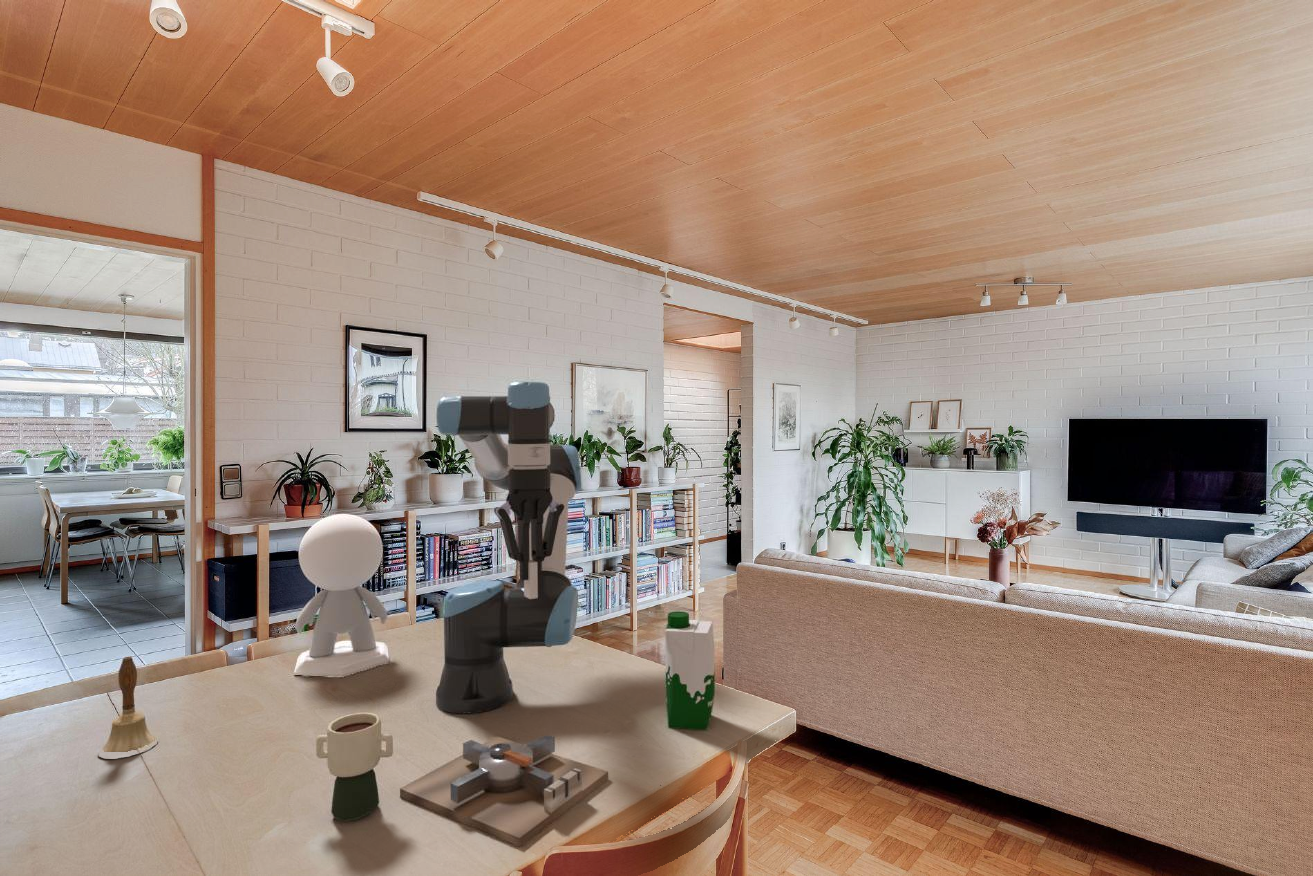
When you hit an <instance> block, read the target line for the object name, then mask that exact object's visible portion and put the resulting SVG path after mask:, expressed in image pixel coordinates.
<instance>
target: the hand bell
mask: <svg viewBox="0 0 1313 876" xmlns="http://www.w3.org/2000/svg"><path fill="white" fill-rule="evenodd" d="M117 678H118V684H119V685H118V686H119V689H120V691H121V694H122V707H121V710H122V714H121V715H120V716H117V717H116V718H115V719H114V720H113V721H112V722H111V731H110V735H109V737H108V739H107V740H106V743H105V744H104V745H103V746H104V747H103V746H102V747H103V750H104V752H128V751H131V750H137V749H138V748H142V747H144V746H145V745H149V744H150V743H152V742H153V741H155V739H156V738H157V737H156V735H153V734H152V733H151V732H150V731H149V729H148V726H147V722H146V717H145V716H146V715H144V713H141V712H138V711H136V710H135V709H136V708H135V707H136V705H135V688H136V686H137V681H138V670H137V666H136V665H135V662H134V660H133V657H132V656H126V657H125V656H124V657H123V658H122V661H121V665H120V667H119V670H118V677H117ZM155 737H156V738H155Z"/></svg>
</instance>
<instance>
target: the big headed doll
mask: <svg viewBox="0 0 1313 876" xmlns="http://www.w3.org/2000/svg"><path fill="white" fill-rule="evenodd" d="M298 548H299V549H298V563H299V566H300V568H301V571H302V573H303V575H304V576H305V577H306V579H307V580H308V581H309V582H311V584H313V585H315V586H316V587H318V588H320V589H322V590H320V591H319V592H318V593H316V594H315V595H314V596H313V597H312V598H311V599H310V600H309V601H308V602H307V603H306V604H305V606H304V607H303V608H302V610H301V611H300V613H299V614H298V616H297V618H296V621H295V622H296V623H295V630H296V632H297V633H298V634H299V635H300V634H302V633H303V630H304V629H303V627H305V626H306V625H308V626H309V627H312V626H313V624H314V620H315V617H316V615H317V613H318V615H317V617H316V618H317V619H316V621H315V625H314V629H313V632H312V637H311V641H310V645H309V646H310V647H309V649H308V650H306V651H303V652H301V653H300V654H299V655H298V657H297V660H296V663H295V668H294V671H293V676H294V675H306V676H305V677H308V676H307V675H310V676H311V675H312V676H314V675H315V676H316V675H317V676H342V678H344V677H343V676H346V675H348V674H352V673H355V672H359V673H361V672H360V671H362V670H365V669H368V668H371V667H374V668H377V667H376V666H378V665H381V666H383V665H382V664H384V665H386V664H385V663H387V664H389V663H390V656H389V647H388V646H387V644H386V643H384V642H383V641H381V642H379V641H376V639H375V635H374V630H373V627H372V624H371V619H370V617H369V614H368V613H370V615H371V618H372V619H373V620H375V619H376V617H377V618H379V619H380V621H381V624H382V625H384V624H386V623H387V621H388V612H387V609H386V607H385V606H384V604H383V603H382V601H380V599H379V598H378V597H377V596H376V595H375V594H374V593H373V592H371V591H370V590H369V589H367V588H365V587H363V586H362V585H363V584H365V583H367V582H368V581H369V580H370V579H371V578H372V577H373V576H374V575H375V573H376V572H377V571H378V569H379V567H380V565H381V562H382V559H383V551H384V547H383V541H382V538H381V536H380V534H379V531H378V530H377V529H376V527H375V526H374V525H373V524H372V523H371V522H370V521H368V520H366V519H365V518H363V517H361V516H358V515H355V514H349V513H337V514H332V515H329V516H325V517H324V518H321V519H320V520H318V521H317V522H316V523H314V524H313V525H312V526H311V527H309V529H308V530H307V531H306V532H305V534H304V535H303V537H302V540H301V542H300V544H299V547H298ZM365 605H366V606H365ZM367 609H368V610H369V612H368V611H367ZM341 634H348V636H349V639H350V640H341V641H336V640H337V636H338V635H341ZM378 667H379V666H378ZM371 669H372V668H371ZM368 670H369V669H368ZM365 671H366V670H365ZM362 672H363V671H362ZM355 674H356V673H355ZM352 675H353V674H352ZM346 677H347V676H346Z"/></svg>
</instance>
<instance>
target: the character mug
mask: <svg viewBox="0 0 1313 876" xmlns="http://www.w3.org/2000/svg"><path fill="white" fill-rule="evenodd" d="M393 739H394V737H393V735H392V734H390V733H382V720H381V717H380V715H379V714H376V713H373V712H357V713H352V714H347V715H344V716H341V717H337V718H336V719H334V720H333V721H331V722H330V723H329V724H328V726H327V727H326V734H319V735H318V736H316V740H315V741H316V742H315V747H316V751H315V752H316V753H315V754H316V757H317V758H318V759H326V760H327V761H326V762H327V763H326V764H327V768H328V771H329V773H330V774H331V775H332V776H334V777H335V779H334V784H333V785H334V786H333V793H332V799H331V800H332V801H331V810H330V812H331V815H332V816H333V818H335V819H337V820H339V821H354V820H357V819H359V818H362V817H365V816H367V814H369V813H371V812H373V811H374V810H375V809H376V808H377V807H378V806H379V803H380V798H379V797H380V796H379V789H378V782H377V777H376V776H377V775H376V772H375V768H376V767H377V766H378V764H379V763H380V760H381V758H389V757H392V756H393V754H394V740H393ZM383 742H385V749H384V750H383V749H382V743H383ZM324 743H326V750H324Z"/></svg>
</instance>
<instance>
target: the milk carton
mask: <svg viewBox="0 0 1313 876" xmlns="http://www.w3.org/2000/svg"><path fill="white" fill-rule="evenodd" d="M664 636H665V637H664V638H665V640H664V641H665V646H664V647H665V652H664V653H665V701H666V715H667V725H668V726H667V727H668V728H672V729H685V730H697V731H698V730H699V731H707V730H708V727H709V724H710V719H711V716H712V711H713V707H714V699H715V691H716V690H715V688H716V687H715V685H716V684H715V681H716V680H715V679H716V676H715V674H716V673H715V672H716V671H715V665H716V664H715V640H714V639H715V638H714V637H715V636H714V627H713V621H708V620H707V621H706V620H705V621H704V620H700V619H690V614H689V613H688V612H686V611H671V612H669V613H668V614H667V623H666V628H665V633H664Z"/></svg>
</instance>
